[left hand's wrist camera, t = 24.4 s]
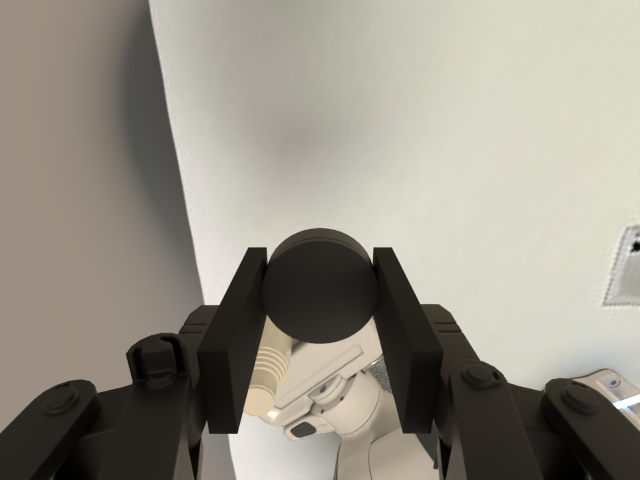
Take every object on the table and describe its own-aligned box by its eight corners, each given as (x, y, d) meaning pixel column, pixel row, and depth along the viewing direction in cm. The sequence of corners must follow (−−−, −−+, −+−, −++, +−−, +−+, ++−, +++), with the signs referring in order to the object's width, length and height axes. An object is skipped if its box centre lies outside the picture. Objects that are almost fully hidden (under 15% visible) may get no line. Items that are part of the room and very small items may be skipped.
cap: (253, 304, 15) (246, 324, 14) (286, 211, 14) (283, 223, 12) (348, 335, 16) (351, 357, 14) (391, 249, 14) (399, 264, 13)
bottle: (258, 282, 47) (226, 376, 31) (298, 286, 47) (287, 381, 31) (256, 317, 49) (225, 422, 33) (295, 320, 49) (283, 426, 33)
